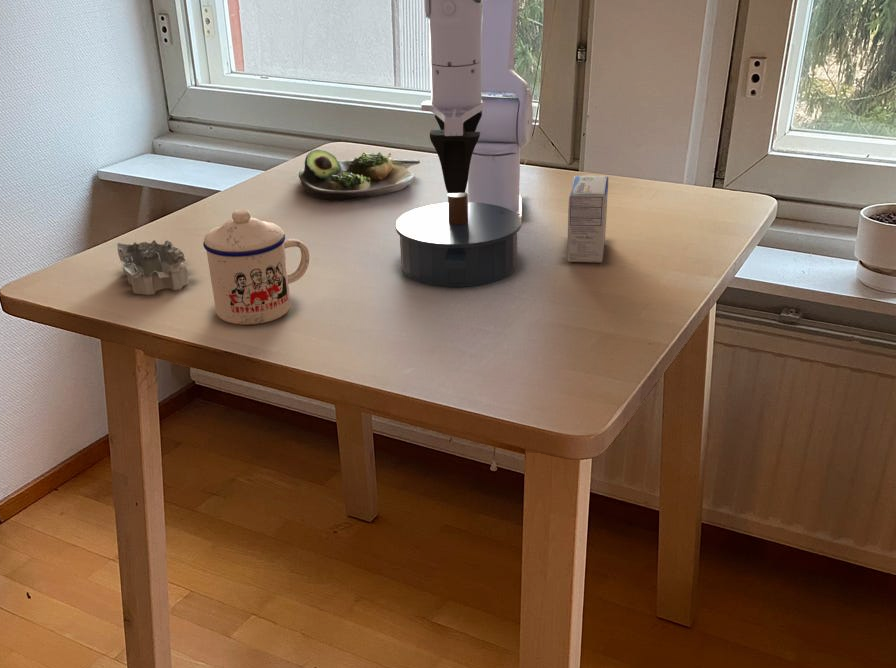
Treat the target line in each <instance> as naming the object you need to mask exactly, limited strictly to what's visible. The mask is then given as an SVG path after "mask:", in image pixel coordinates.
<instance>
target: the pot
mask: <svg viewBox="0 0 896 668" xmlns="http://www.w3.org/2000/svg"><path fill="white" fill-rule="evenodd" d="M399 247H400V249H399V250H400V264H401V270H402V272H403V273H404V274H405V275H406V276H407V277H408V278H410V279H411V280H414V281H416V282H419V283H420V284H425V285H430V286H436V287H445V288H447V287H448V288H463V287H464V288H465V287H475V286H481V285H482V286H483V285H487V284H492V283H494V282H497V281H500V280H503V279H504V278H507V277H508V276H510V275H511V274H512V273H513V272H514V271H515V270H516V268H517V264H518V233H517V234H515V235H514V236H512V237H510V238H508V239H506V240H504V241H501V242H498V243H494V244H490V245H485V246H479V247H470V248H438V247H430V246H424V245H420V244H416V243H413V242H410V241H408V240H405V239H404V238H402V237H401V236H400V235H399Z"/></svg>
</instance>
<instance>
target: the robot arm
mask: <svg viewBox="0 0 896 668" xmlns="http://www.w3.org/2000/svg"><path fill="white" fill-rule="evenodd" d="M423 3H424V14H425V19H428V23H429V27H428V28H429V63H430V91H431V92H430V93H431V97H430V98H431V100H424V101H422V102H421V104H420V105H421V106H420V107H421V108H420V109H421V111H422V112H430V113H432V114H433V115H434V118H435V120H436V122H437V125H438V127H439V129H430V131H429V140H430V143H431V144H432V146H433V148H434V149H435V152H436V154H437V156H438V159H439V162H440V166H441V167H440V168H441V171H442V178H443V183H444V186H445V190H446V192H447V194H449V193H466V190H467V194H468V202H476V203H486V204H492V205H497V206H501V207H504V208H507V209H509V210H511V211H513V212H515V213H516V214H518V215H519V217H520V218H521V220H522V219H523V196H522V195H520V182H521V181H520V177H521V176H520V175H521V149H522V148H524V147H526V146H527V145H528V143H530V140H531V137H532V131H533V120H534V111H533V90H532V89H531V86H530V84H529V83H528V82H527V81H526V80H524V79H523V77H521V76H520V75H519V74H518V73H516V72H515V70H514V68H515V67H514V66H515V52H516V40H517V39H516V37H517V25H518V24H517V23H518V11H519V10H518V9H519V0H423ZM482 95H484V96H482ZM485 95H489V96H485ZM490 95H491V96H490ZM492 95H493V96H492ZM498 95H499V96H516V97H499V96H498ZM495 96H496V97H495ZM497 96H498V97H497Z"/></svg>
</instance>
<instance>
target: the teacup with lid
mask: <svg viewBox="0 0 896 668" xmlns="http://www.w3.org/2000/svg"><path fill="white" fill-rule="evenodd" d="M202 243H203V248H204V249H205V251H206V257H207V263H208V264H207V265H208V269H209V276H210V282H211V288H212V294H213V295H212V296H213V301H214V307H215V312H216V315H217V317H219V318H220V319H221V320H222V321H224V322H226V323H228V324H229V323H230V324H235V325H241V326H242V325H245V326H247V325H248V326H249V325H260V324H265V323H270V322H273V321H275V320H277V319H280V318H281V317H283V316H284V315H286V314H287V313H288V312H289V311H290V309H291V306H292V305H291V304H292V301H291V294H290V284H292V283H295V282H297V281H299V280H300V279H302V277H303V276H304V275H305V273H306V272H307V270H308V268H309V264H310V252H309V249H308V246H307V245H306V244H305V243H303V241H300V240H299V239H296V238H289V239H288V238H287V239H286V234H285V232H284V230H283V229H282V228H281V227H280V226H279V225H277V224H275V223H273V222H269V221H262V220H260V219H259V218H256V217H251V213H250V211H249V210H247V209H237V210H234V211H233V212H232V214H231V219H229V220H227V221H225V222H224V223H223V224H221V225H219V226H216V227H214V228H212V229H210V230H209V231H208V232H207V233H206V234H205V235H204V238H203V242H202ZM294 247H296V248H299V250H300V255H301V257H300V262H299V265H298V267H297V269H296V270H295V271H294V272H292V273H290V274H288V268H287V260H286V259H287V258H286V250H285V249H288V248H294Z"/></svg>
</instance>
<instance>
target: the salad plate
mask: <svg viewBox="0 0 896 668" xmlns="http://www.w3.org/2000/svg"><path fill="white" fill-rule="evenodd" d="M391 156H392V153H388V155H387V156H385V155H383V154H382V153H381V152H380V151H379V152H377V153H374V152H373V153H369V152H368V153H367V152H363V153H361V155H360V156H358V157H354V159H340V160H339V159H337V157H336V156H335V155H334V154H332V153H330V152H328V151H326V150H323V149H313V150H310V152H308V153H307V154H306V156H305V159H304V167H302V168H301V169H300V170H299V172H298V178H299V181H300V183H301V185H302V187H303V188H304V189H305V191H306V192H307V194H309V195H310V196H311V197H313V198H315V199H318V200H322V201H325V202H347V201H355V200H359V199H369V198H373V197H378V196H382V195H387V194H389V193H395V192H399V191H402V190H403V189H405V188H406V187H407V186H408V185H410V184H411V183H412V182H413V181H414V180H415V179H416V175H415V174H414V173H413V172H412V171H411V170H408V169H409V168H410V167H413V166H416V165H417V166H418V165H419V164H420V163H421V159H398V158H397V159H395V158H393V159H392V158H391Z"/></svg>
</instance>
